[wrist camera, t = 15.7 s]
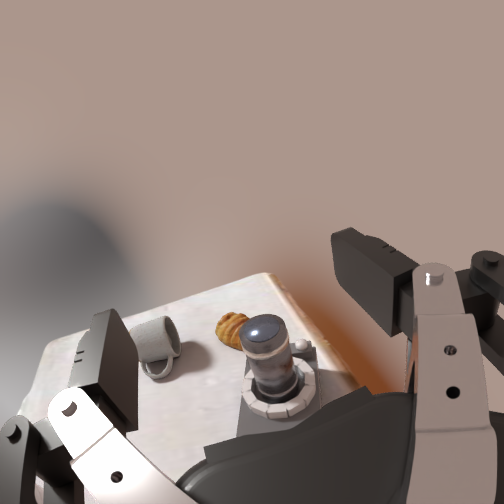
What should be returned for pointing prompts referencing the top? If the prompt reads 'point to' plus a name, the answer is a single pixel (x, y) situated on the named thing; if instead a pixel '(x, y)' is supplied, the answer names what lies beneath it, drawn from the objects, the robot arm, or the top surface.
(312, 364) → the grey socket block
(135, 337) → the ceramic mug
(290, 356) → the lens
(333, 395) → the top surface
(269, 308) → the top surface
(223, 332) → the pastry
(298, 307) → the top surface
